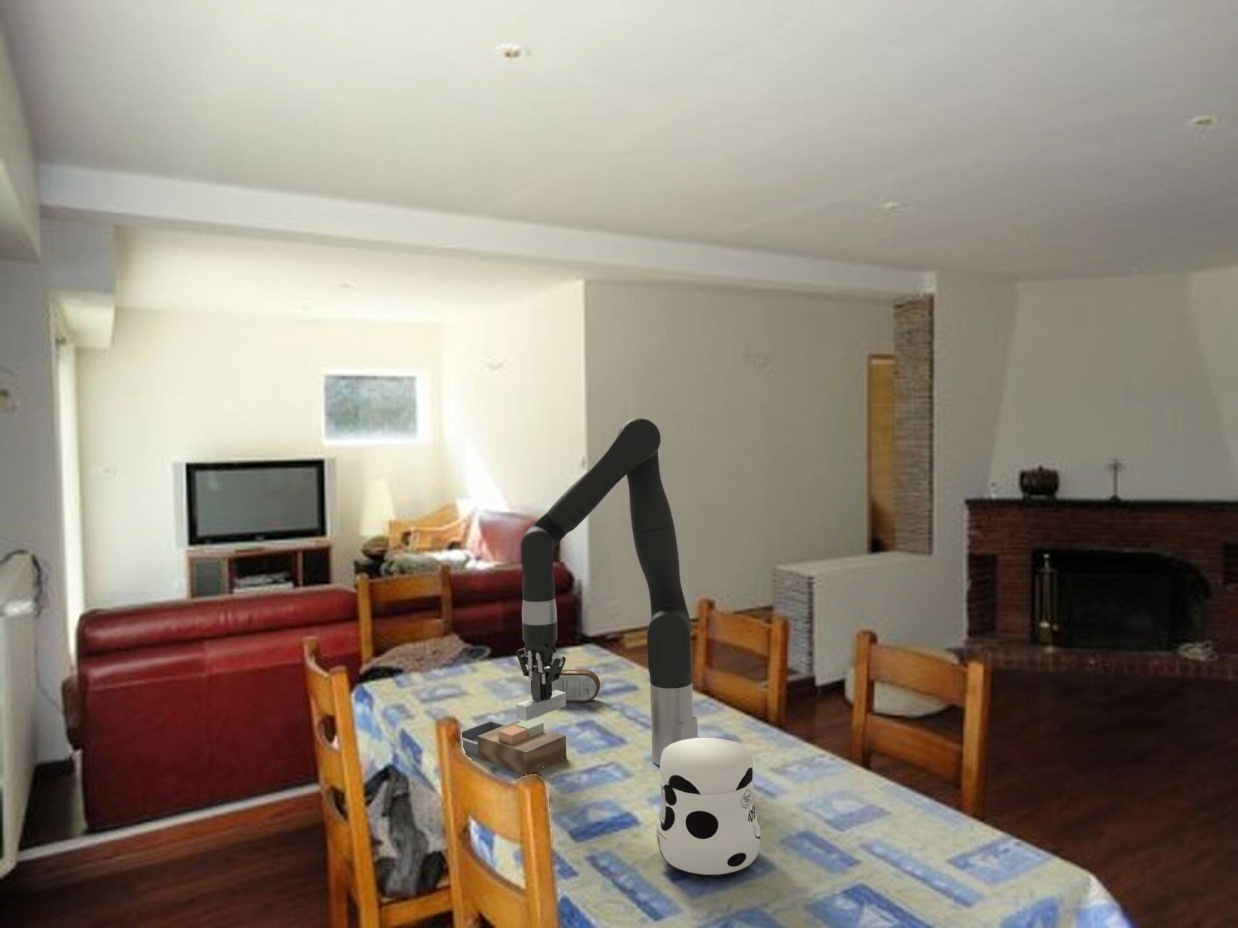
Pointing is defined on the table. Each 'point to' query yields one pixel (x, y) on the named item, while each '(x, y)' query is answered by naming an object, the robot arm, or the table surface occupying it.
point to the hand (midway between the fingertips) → (541, 697)
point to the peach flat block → (512, 734)
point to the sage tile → (531, 727)
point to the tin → (577, 685)
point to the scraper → (539, 700)
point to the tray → (471, 735)
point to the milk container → (707, 807)
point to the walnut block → (522, 750)
